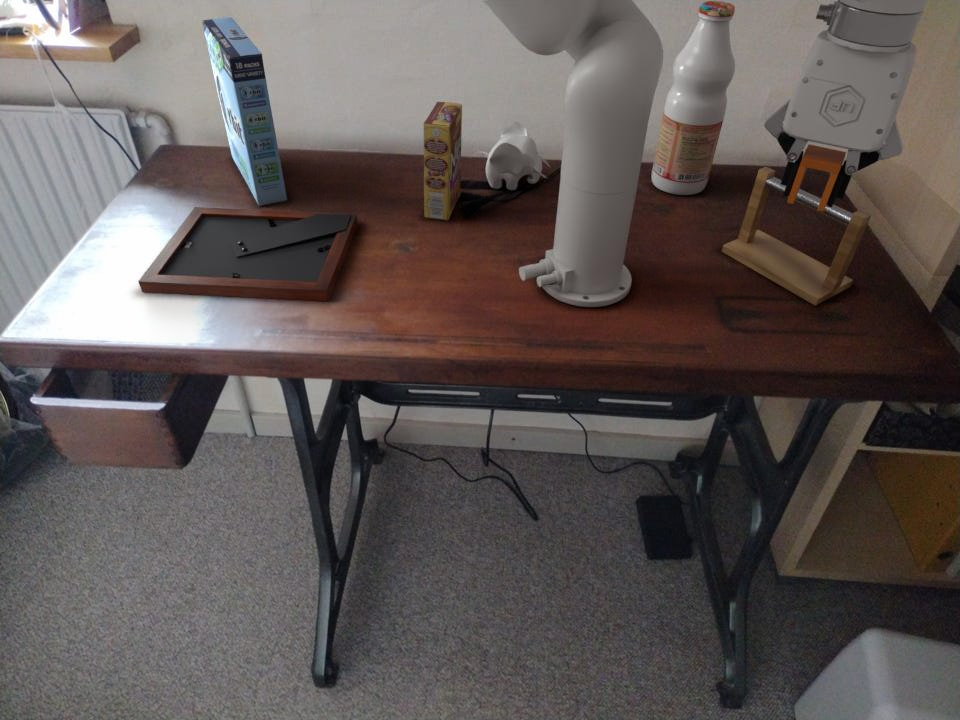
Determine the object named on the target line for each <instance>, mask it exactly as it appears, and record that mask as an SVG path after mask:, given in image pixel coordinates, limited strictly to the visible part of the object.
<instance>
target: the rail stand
mask: <svg viewBox="0 0 960 720" xmlns="http://www.w3.org/2000/svg"><path fill="white" fill-rule="evenodd" d="M775 174H776V170H775V169H773V168H770V167H768V166H764V167H762V168H759V169H758V171H757V175H756V178H755V182H754V184H753V188H752V191H751V195H750V197H749V201H748V204H747V207H746V212H745V214H744V216H743V221H742V225H741V227H740V230H739V234H738V237H737V238H736V239H733V240H731V241H729V242H727V243H724V244H723V246H722V248H721V252H722V253H724V254H725V255H727V256H729V257H730V258H732V259H734V260H736V261H737V262H739V263H741V264H742V265H744V266H746V267H747V268H749V269H751V270H753V271H755V272H756V273H758V274H759V275H762V276H763V277H765V278H766V279H768V280H770V281H771V282H773V283H775V284H777V285H778V286H780V287H783V289H785V290H787V291H789V292H791V293H792V294H794V295H796V296H798V297H799V298H801V299H803V300H804V301H806V302H808V303H810V304H811V305H813V306H818V305H819V304H821V303H823V302H825V301H827V300H829V299H831V298H832V297H834V296H836V295H839V294H840V293H842V292H844V291H845V290H847V289H849V288H851V287H852V284H853V282H854V279H853V278H850V277H849V276H847V275H846V274H847V271H848V270H849V267H850V265H851V262H852V260H853V259H854V256H855V254H856V251H857V249H858V247H859V244H860V242H861V240H862V237H863V236H864V233H865V231H866V229H867V227H868V224H869V221H870V220H871V217H872V214H871V213H869V212H867V211H864V210H862V209H859V210H857V211H854V212H850V211H848V210H846V209H844V208H842V207H840V206H838V205H835V204H833V206H832V207H828V206H827V205H826V207H825V209H824V211H819V210H817V209H818V206H819V203H820V201H821V198H820V197H818V196H816V195H814V194H812V193H809V192H808V191H805V190H803V189H801V188H800V189H799V191H798V194H797V196H796V199H795V201H794V202H795V203H796V202H797V203H798V204H799V205H803V206H805V207H807V208H809V209H811V210H813V211H815V212H817V213H818V214H821V215H823V216H825V217H828V218H830V219H832V220H834V221H836V222H838V223H840V224H842V225H844V226H846V229H845V231H844V234H843V236H842V238H841V241H840V243H839V245H838V247H837V251H836V252H835V255H834V257H833V260H832V261H831V264H830V266H828V265H826V264H824V263H822V262H821V261H818V260H817V259H815V258H813V257H811V256H809V255H807V254H805V253H803V252H801V251H800V250H798V249H797V248H795V247H792V246H791V245H788V244H786V243H785V242H783V241H781V240H779V239H778V238H775V237H773V236H772V235H769V234H768V233H766V232H765V231H762V230H760V229H758V227H759V224H760V220H761V217H762V215H763V212H764V208H765V205H766V202H767V199H768V196H769V193H770V190H771V191H773V192H775V193H777V194H780V195H782V196H783V194H784V191H785V188H786V186H785V185H781V181H782V179H779V178H777V177H775ZM788 198H789V196H788V197H787V199H788Z"/></svg>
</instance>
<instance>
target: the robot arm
mask: <svg viewBox="0 0 960 720" xmlns="http://www.w3.org/2000/svg"><path fill="white" fill-rule="evenodd" d="M481 1H482V2H483V4H485V5H486V6H487V7H488V9H489V10H490V11H491V12H492V13H493V14H494V15H495V16H496V18H498V20H499V21H500V23H502V24H503V25H504V26H505V28H506V29H507V30H508V31H509V32H510V33H511V34H512V36H513V37H514V38H515V39H516V41H518V42H519V43H520V44H521V45H522V46H523V47H524V48H525V49H527V50H528V51H529V52H531V53H534V54H536V55H540V56H553V55H557V54H560V53H562V52H564V51H565V52H566V53H567V55H568V56H570V58H571V59H572V60H573V61H574V64H573V66H572V68H571V71H570V73H569V76H568V79H567V83H566V87H565V93H564V102H563V141H562V152H561V153H562V154H561V163H560V164H561V165H560V178H559V179H560V180H559V190H558V200H557V209H556V219H555V228H554V237H553V238H554V239H553V245H552V246H553V247H552V248H551V249H547V250H545V257H544V258H543V259H542V258H541V259H540V260H539V262H538V263H532V264H531V263H530V264H526V265H523V266H520V267H519V268H518V274H519V278H520V279H521V281H523V282H525V281H529V280H534V279H536V284H537V286H538V287H539V288H541V287H542V289H543V290H544V291H545V292H546V294H548V295H549V296H551V297H553V298H554V299H555V300H557V301H560V302H562V303H564V304H568V305H571V306H576V307H581V308H582V307H583V308H599V307H606V306H610V305H613V304H616V303H618V302H620V301H621V300H623V299H624V298H625V297H626V296H627V295H629V293H630V290H631V287H632V282H633V278H632V274H631V272H630V270H629V269H628V267H627V266H626V265H625V264H624V261H625V256H626V250H627V245H628V239H629V235H630V229H631V223H632V218H633V212H634V206H635V201H636V195H637V190H638V186H639V177H640V173H641V166H642V161H643V156H644V155H643V154H644V151H645V150H644V149H645V145H646V138H647V132H648V126H649V121H650V116H651V113H652V108H653V103H654V99H655V95H656V90H657V87H658V84H659V80H660V76H661V73H662V69H663V65H664V47H663V43H662V39H661V37H660V36H659V33H658V32H657V30H656V28H655V27H654V25H653V24H652V22H651V21H650V20H649V19H648V17H646V15H645V14H644V12H642V10H641V9H640V8H639V6H638V5H637V4H636V3H635V2H634V1H633V0H481ZM928 1H929V0H837V1H833V3H828V4H824V3H820V4H819V7H818V10H817V13H816V16H815V19H816V20H822V22H825V23H826V26H828V28H827V29H824V30H822V31H820V33H818V34H817V36H816V38H815V40H814V42H813V44H812V45H811V47H810V49H809V52H808V53H807V56H806V58H805V60H804V63H803V64H802V67H801V70H800V73H799V75H798V78H797V81H796V83H795V85H794V89H793V91H792V93H791V97H790V98H789V100H787V101H786V102H785V103H784V104H783V105H781V106H780V107H779V108H778V109H777V110H776V111H775V112H773V113H772V114H771V115H770V116H769V117H768V118H767V119H766V120H765V122H764V125H763V127H764V128H765V130H767V132H768V133H769V134H770V135H771V136H772V137H773V138H775V139H776V141H777V143H778V145H779V146H780V148H781V149H782V151H783V153H784V155H785V156H786V157H785V159H786V161H787V163H786V166H785V169H784V172H783V175H782V178H781V180H782V181H781V185H785V186H786V188H785V191H784V194H783V195H782V197H786V198H788V196H789V195H790V192H791V189H792V186H793V183H794V181H795V178H796V175H797V172H798V169H799V166H800V163H801V160H802V158H803V155H804V153H805V151H804V149H805V147H807V146H806V145H807V144H808V142H812V143H815V144H821V145H826V146H830V147H836V148H840V149H845V150H847V153H846V160H843V163H842V166H841V169H840V171H839V174H838V176H837V179H836V181H835V184H834V186H833V189H832V192H831V194H830V197H829V199H828V202H827V204H826V205H827V206H828V207H832V206H833V205H835V204H834V203H835V201H836V199H841V200H842V199H843V198H844V196H845V194H846V191H847V189H848V186H849V184H850V182H851V180H852V176H854V175H856V174H857V172H859V171H861V170H864V169H865V168H867V167H869V166H871V165H873V164H876V163H877V162H879V161H884V160H888V159H890V158H891V159H892V158H894V157H898V156H900V155H901V154H902V153H903V149H904V145H903V141H902V137H901V133H900V130H899V126H898V122H897V119H896V118H897V115H898V113H899V110H900V108H901V105H902V102H903V99H904V96H905V93H906V91H907V88H908V84H909V82H910V79H911V75H912V72H913V68H914V65H915V60H916V54H917V46H916V44H915V43H913V42H912V40H913V38H914V35H915V33H916V31H917V28H918V26H919V24H920V22H921V21H920V20H921V18H922V16H923V13H924V11H925V9H926V6H927V4H928Z"/></svg>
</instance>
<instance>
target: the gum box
mask: <svg viewBox="0 0 960 720" xmlns="http://www.w3.org/2000/svg"><path fill="white" fill-rule="evenodd" d="M201 23H202V28H203V32H204V38H205V41H206V47H207V51H208V55H209V59H210V64H211V68H212V73H213V78H214V82H215V87H216V91H217V95H218V100H219V104H220V109H221V113H222V118H223V123H224V127H225V131H226V136H227V140H228V144H229V149H230V153H231V154H230V155H231V157H232V159H233V161H234V164H235V165H236V167H237V169H238V171H239V172H240V174H241V175H242V178H243V180H244V181H245V183H246V184H247V187H248V188H249V190H250V192H251V194H252V196H253V198H254V199H255V202H256V203H257V206H259V207H263V206H268V205H269V206H270V205H273V204H278V203H283V202H287V201H288V197H287V191H286V186H285V185H286V184H285V180H284V174H283V168H282V163H281V157H280V152H279V146H278V140H277V134H276V128H275V123H274V117H273V111H272V106H271V100H270V95H269V89H268V83H267V77H266V70H265V66H264V59H263V53H262V52H261V51H260V49H259V48H258V47H257V46H256V45H255V44H254V42H253V41H252V40H251V38H249V36H248V35H247V34H246V33H245V32H244V30H243V29H242V28H241V27H240V26H239V24H238V23H237V22H236V20H234V19H233V17H231V16H229V17H218V18H211V19H203V20H201Z"/></svg>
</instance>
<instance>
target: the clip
mask: <svg viewBox="0 0 960 720" xmlns="http://www.w3.org/2000/svg"><path fill="white" fill-rule="evenodd" d="M846 156H847V151H843V150H838V149H833V148H830V147H829V148H828V147H824V146H819V145H814V144H808V145H807V146H806V148H805V151H804V153H803V158H802V160H801V163H800V166H799V169H798V172H797V175H796V178H795V181H794V183H793V186H792V189H791V192H790V195H789V198H788V197H787V201H786V203H787V204H791V205H794V203H795V202H796V201H795V199H796V196H797V194H798V191H799V189H801V187H802V183H803V180H804V177H805V175H806V172H807V169H808V168H809V169H813V170H817V171H821V172H826V173H830V175H829V177H828V180H827V182H826V184H825V187H824V190H823V193H822V195H821V198H820V199H821V201H820V203H819V206H818V209H817V210H819V211H824V209H825V207H826V204H827V202H828V199H829V197H830V194H831V192H832V189H833V186H834V184H835V181H836V179H837V176H838V174H839V171H840V169H841V166H842V165H843V163H844V161H845V157H846Z"/></svg>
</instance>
